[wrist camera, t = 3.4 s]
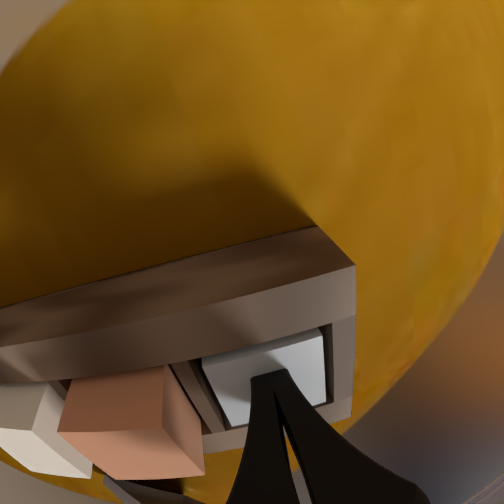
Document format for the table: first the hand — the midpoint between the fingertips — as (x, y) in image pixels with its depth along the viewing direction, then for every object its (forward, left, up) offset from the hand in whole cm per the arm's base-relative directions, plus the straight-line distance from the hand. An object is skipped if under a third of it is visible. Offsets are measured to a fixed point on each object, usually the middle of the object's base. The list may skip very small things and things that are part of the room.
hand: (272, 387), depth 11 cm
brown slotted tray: (-6, 0, -3) cm, 7 cm away
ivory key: (-11, 0, -1) cm, 11 cm away
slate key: (0, 0, -3) cm, 3 cm away
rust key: (-6, 0, -1) cm, 6 cm away
